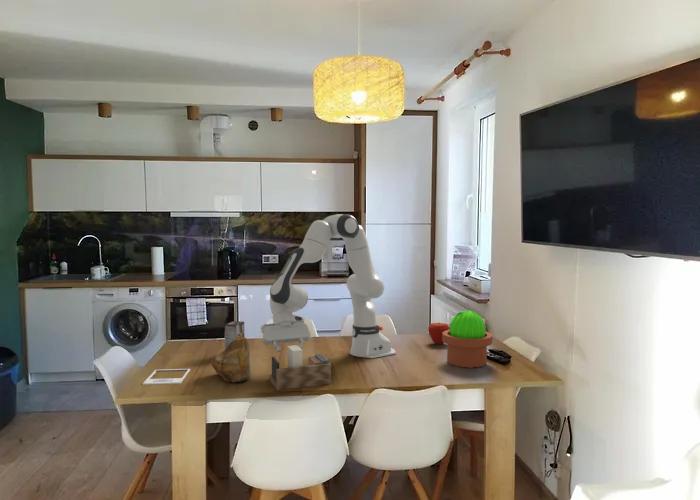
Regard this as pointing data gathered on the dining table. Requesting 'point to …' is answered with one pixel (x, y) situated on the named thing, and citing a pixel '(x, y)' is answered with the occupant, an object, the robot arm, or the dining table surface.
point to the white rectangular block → (294, 356)
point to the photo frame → (165, 381)
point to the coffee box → (233, 331)
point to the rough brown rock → (234, 361)
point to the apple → (437, 331)
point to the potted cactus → (467, 340)
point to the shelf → (301, 374)
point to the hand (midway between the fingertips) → (289, 350)
